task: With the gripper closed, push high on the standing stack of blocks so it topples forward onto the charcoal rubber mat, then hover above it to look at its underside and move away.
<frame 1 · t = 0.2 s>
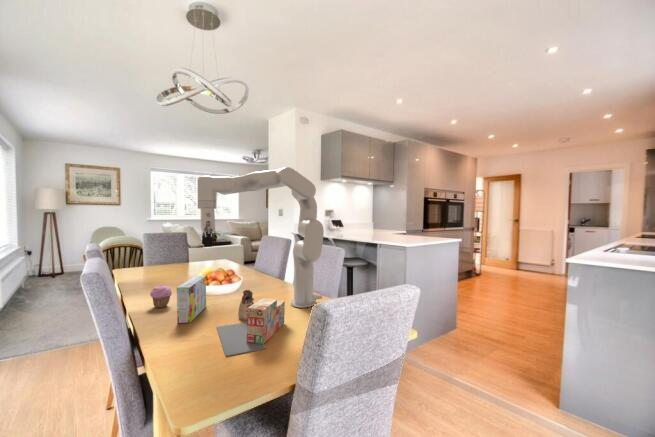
hand: (207, 245, 128), 31 cm above the table, tool pointing down, fingers open, 9 cm apart
cupcake: (161, 306, 143), on the table
stack of blocks: (266, 332, 114), on the table, touching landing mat
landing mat: (238, 337, 109), on the table
snack box: (192, 315, 133), on the table
figurine: (246, 317, 130), on the table
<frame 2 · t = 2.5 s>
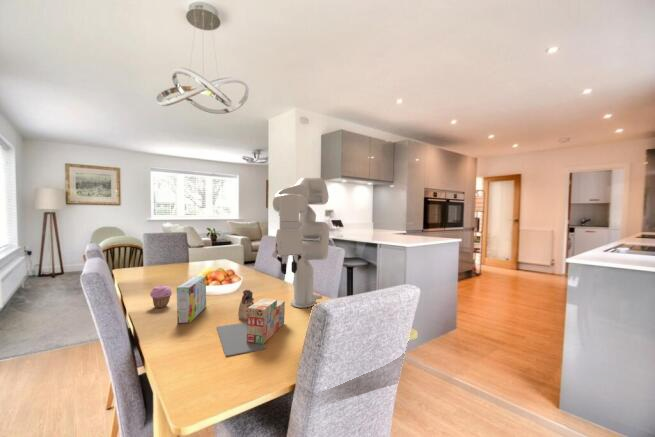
hand: (288, 272, 117), 22 cm above the table, tool pointing down, fingers open, 3 cm apart
nothing on the table moved.
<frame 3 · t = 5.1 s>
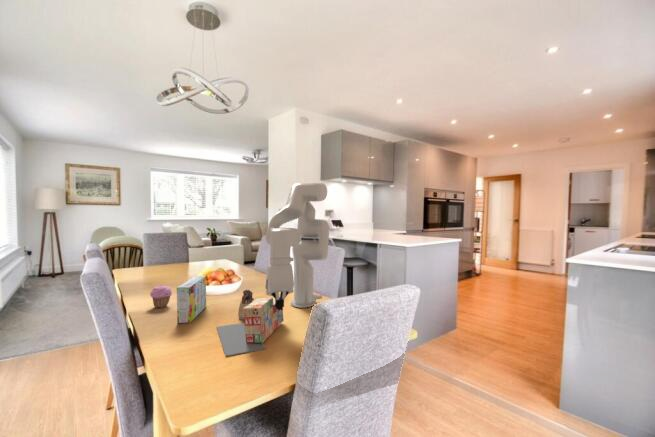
hand: (279, 309, 115), 9 cm above the table, tool pointing down, fingers closed
stack of blocks: (266, 331, 114), on the table, touching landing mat
everything else where it was.
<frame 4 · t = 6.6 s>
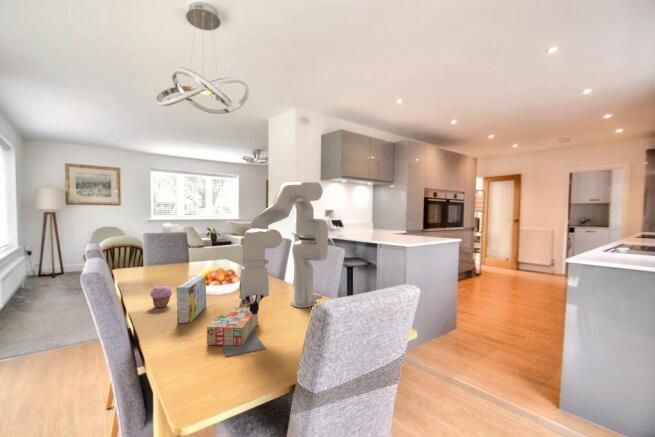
hand: (254, 313, 111), 8 cm above the table, tool pointing down, fingers closed
stack of blocks: (251, 325, 112), point 4 cm above the table, touching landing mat
everything else where it was.
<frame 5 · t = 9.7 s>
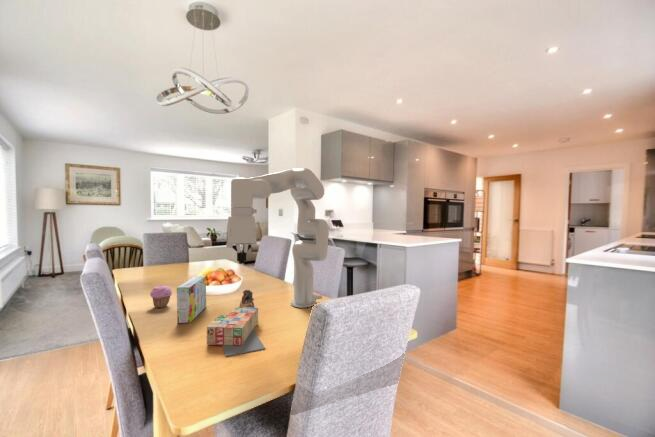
hand: (241, 263, 109), 27 cm above the table, tool pointing down, fingers closed
nothing on the table moved.
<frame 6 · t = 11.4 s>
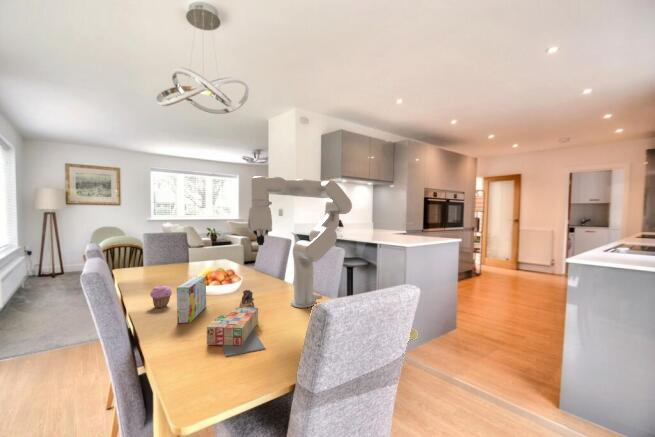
hand: (260, 244, 136), 31 cm above the table, tool pointing down, fingers closed
nothing on the table moved.
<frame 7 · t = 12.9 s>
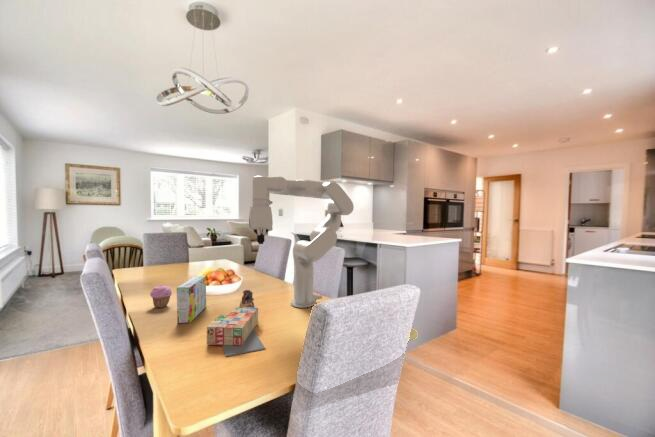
hand: (260, 243, 137), 31 cm above the table, tool pointing down, fingers closed
nothing on the table moved.
at the end: stack of blocks tilted 90°; stack of blocks touching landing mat; the gripper is holding nothing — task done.
